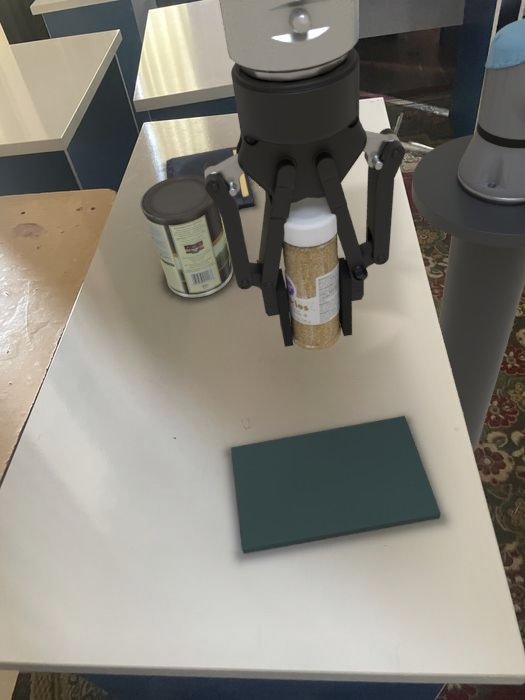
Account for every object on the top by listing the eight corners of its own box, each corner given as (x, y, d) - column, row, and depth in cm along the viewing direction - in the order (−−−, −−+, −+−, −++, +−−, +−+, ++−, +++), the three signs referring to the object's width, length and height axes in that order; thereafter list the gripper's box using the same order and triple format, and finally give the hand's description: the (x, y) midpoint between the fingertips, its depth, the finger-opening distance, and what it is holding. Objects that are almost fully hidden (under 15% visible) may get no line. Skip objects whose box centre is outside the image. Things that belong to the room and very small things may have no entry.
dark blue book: (164, 153, 108) (243, 139, 108) (167, 162, 110) (244, 148, 110) (164, 213, 95) (253, 198, 95) (167, 222, 97) (255, 207, 96)
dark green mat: (404, 420, 65) (404, 415, 64) (439, 518, 57) (441, 513, 56) (232, 451, 65) (230, 447, 64) (243, 553, 57) (242, 549, 56)
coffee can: (204, 244, 91) (184, 166, 81) (246, 271, 86) (231, 190, 75) (153, 278, 87) (125, 200, 77) (194, 308, 82) (170, 228, 71)
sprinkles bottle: (280, 333, 51) (262, 208, 41) (318, 308, 53) (309, 181, 43) (314, 361, 48) (303, 234, 39) (353, 334, 50) (352, 204, 40)
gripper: (143, 109, 30) (221, 379, 48) (466, 50, 30) (427, 343, 48) (145, 55, 35) (215, 317, 53) (422, 5, 35) (401, 284, 53)
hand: (315, 329), depth 50 cm, fingers closed on sprinkles bottle, 4 cm apart
